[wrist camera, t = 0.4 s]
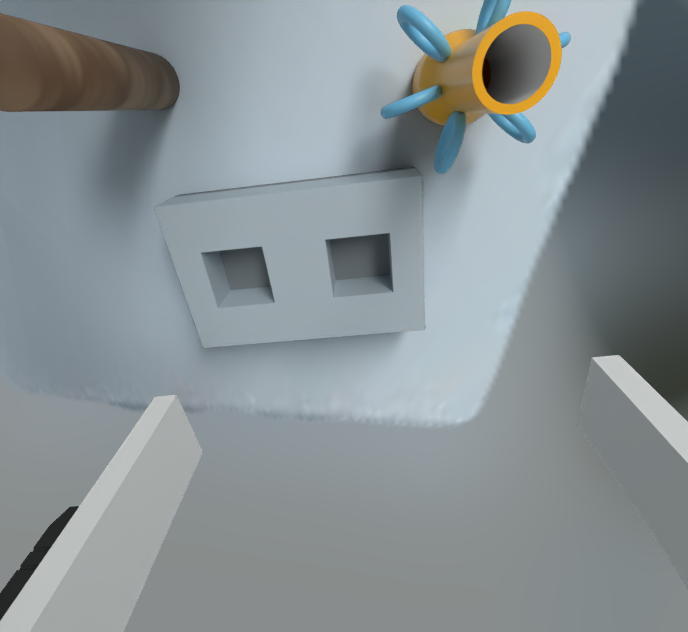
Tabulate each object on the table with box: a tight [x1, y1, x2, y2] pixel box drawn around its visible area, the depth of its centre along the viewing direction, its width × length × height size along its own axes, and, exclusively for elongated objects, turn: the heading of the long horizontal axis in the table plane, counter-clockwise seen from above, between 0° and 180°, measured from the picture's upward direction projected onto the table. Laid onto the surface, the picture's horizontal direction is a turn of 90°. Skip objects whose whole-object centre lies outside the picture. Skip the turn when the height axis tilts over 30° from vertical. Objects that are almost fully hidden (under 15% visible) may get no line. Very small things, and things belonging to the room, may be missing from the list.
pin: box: [0, 13, 179, 112], centre depth 24 cm, size 4×4×16 cm
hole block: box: [154, 167, 425, 348], centre depth 36 cm, size 14×22×5 cm, turn 97°
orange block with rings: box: [381, 0, 571, 174], centre depth 24 cm, size 12×10×15 cm
